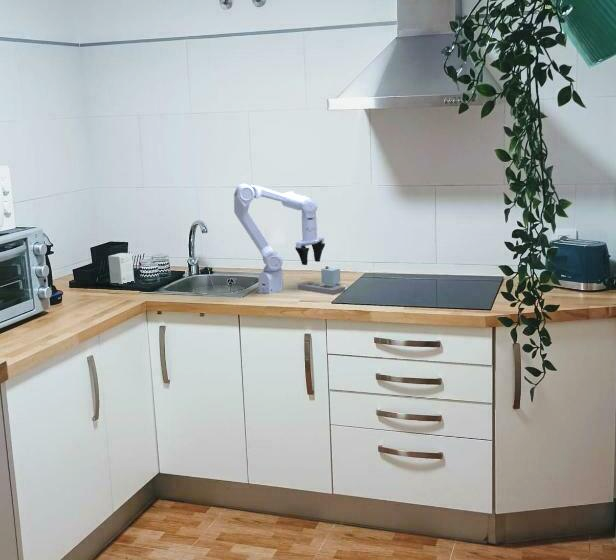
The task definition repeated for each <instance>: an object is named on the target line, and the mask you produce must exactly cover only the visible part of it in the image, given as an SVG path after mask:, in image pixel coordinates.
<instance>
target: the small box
mask: <svg viewBox="0 0 616 560" xmlns="http://www.w3.org/2000/svg"><path fill="white" fill-rule="evenodd" d="M107 259H108V266H109V267H108V268H109V270H108V271H109V277H110V278H109V279H110V284H111V283H119V284H123V283H127V282H131V281H134V282H135V277H134V274H135V273H134V265H133V254H132V253H130V252H129V253H128V252H120V253H119V252H118V253H116V254H111V255H108V256H107Z"/></svg>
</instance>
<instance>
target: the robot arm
mask: <svg viewBox="0 0 616 560" xmlns="http://www.w3.org/2000/svg"><path fill="white" fill-rule="evenodd" d="M260 198H266V199H269V200H274V201H277V202H281V204H282V206H283V207H286V208H289V209H293V210H296V211H301V231H302V234H301V235H302V240H299V241H297V242H296V241H295V247H294V248H295V249H294V250H295V251H296V252H297V254H298V256H299V259H300V262H301V265H303V266H308V254H309V251H310V248H309V247H307V246H311V247H312V250H313V251H312V252H313V258H314V262H316V263H320V262H321V257H322V253H323V250H324V248H325V247H326V246H325V245H326V243H325V238H324V237H322V236H319V237H318V229H317V228H318V227H317V210H318V205H317V202H316V200H314V199H313V198H310V197H309V196H307V195H300V194H297V193H295V191H291V190H290V191H286V192H285V193H281V192H278V191H275V190H272V189H269V188H266V187H263V186H260V185H255V184H250V185H249V184H247V183H240V184H239V185H237V187H236V189H235V190H234V193H233V199H234V200H233V201H234V202H233V207H234V209H233V212H234V214H235V216H236V217H237V219H238V221H239V222H240V224H241V225H242V226H243V228H244V229H245V231H246V233H247V234H248V236H249V238H250V239H251V240H252V242H253V243H254V245H255V247H256V248H257V249H258V251H259V252H260V255H261V257H262V261H263V264H264V265H265V266H264V267H263V271H262V272H260V273H259V274H258V277H257V281H258V291H257V294H267V295H271V294H275V293H280V292H283V291H284V279H283V277H284V276H283V267H282V266H283V259H282V257H281V256H280V255H279V254H278V253H277V252H276V251H274V249H273V248H272V247H271V245H270V244H269V243H268V240H267V239H266V237H265V236H264V235H263V233H262V232H261V230H260V229H259V227H258V225H257V224H256V222H255V221H254V219H253V218H252V216H251V215H250V213H249V212H248V211H249V207H250V204H251V203H252V201H253V200H254V199H260Z"/></svg>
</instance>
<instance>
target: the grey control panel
mask: <svg viewBox="0 0 616 560" xmlns="http://www.w3.org/2000/svg"><path fill="white" fill-rule="evenodd" d="M297 287H298V290H300V291H307V292H311V293H312V292H313V293H320V294H326V295H331V296H335V295H338V294H341V293H345V292H346V286H342V285H330V284H324V283H322V282H317V281H316V282H315V281H306V282H303V283H299V284H298V285H297Z"/></svg>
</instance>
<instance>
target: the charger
mask: <svg viewBox="0 0 616 560" xmlns="http://www.w3.org/2000/svg"><path fill="white" fill-rule="evenodd" d="M320 272H321V283H323V284H330V285H337V286H339V283H341V269H340V268H336V267H329V266H328V265H327V266H325V268H322V269H321V271H320Z"/></svg>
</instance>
